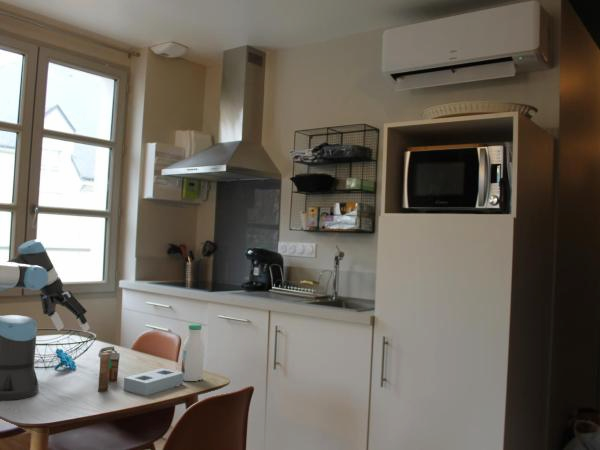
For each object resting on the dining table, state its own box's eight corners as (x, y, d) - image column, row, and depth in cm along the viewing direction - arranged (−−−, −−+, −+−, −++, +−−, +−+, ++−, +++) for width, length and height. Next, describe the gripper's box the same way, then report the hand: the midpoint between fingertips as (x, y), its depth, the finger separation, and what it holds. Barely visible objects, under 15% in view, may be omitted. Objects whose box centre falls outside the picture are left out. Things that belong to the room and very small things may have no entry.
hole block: (145, 395, 179) (146, 383, 179) (123, 389, 184) (124, 377, 184) (182, 384, 194) (183, 372, 194) (161, 379, 199) (162, 368, 199)
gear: (72, 369, 199) (54, 348, 200) (59, 380, 198) (41, 359, 199) (82, 366, 210) (65, 346, 211) (69, 377, 209) (52, 357, 210)
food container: (94, 374, 200) (96, 346, 200) (112, 373, 203) (114, 346, 203) (99, 383, 189) (101, 354, 189) (117, 382, 192) (119, 353, 192)
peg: (102, 392, 179) (105, 355, 179) (96, 390, 180) (98, 353, 181) (109, 390, 182) (112, 353, 182) (103, 388, 183) (105, 352, 183)
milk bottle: (205, 378, 204) (209, 324, 205) (196, 383, 197) (200, 326, 197) (186, 375, 206) (190, 321, 207) (176, 380, 199) (180, 324, 199)
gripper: (80, 275, 192) (105, 324, 200) (33, 275, 203) (58, 321, 212) (64, 287, 186) (90, 337, 195) (16, 286, 198) (43, 334, 206)
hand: (73, 329), depth 203 cm, fingers open, 13 cm apart
